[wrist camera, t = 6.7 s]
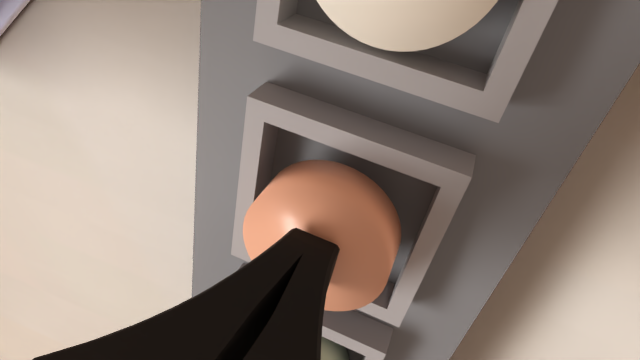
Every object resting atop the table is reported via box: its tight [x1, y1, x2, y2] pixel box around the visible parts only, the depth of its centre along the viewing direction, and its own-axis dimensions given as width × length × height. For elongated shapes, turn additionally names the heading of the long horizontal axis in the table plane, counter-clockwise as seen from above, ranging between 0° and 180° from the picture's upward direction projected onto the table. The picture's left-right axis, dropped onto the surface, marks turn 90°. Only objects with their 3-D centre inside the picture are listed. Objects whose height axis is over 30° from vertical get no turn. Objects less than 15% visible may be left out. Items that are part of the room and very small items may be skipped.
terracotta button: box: [243, 160, 401, 311], centre depth 13 cm, size 4×4×2 cm
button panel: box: [192, 0, 640, 360], centre depth 16 cm, size 26×11×4 cm, turn 169°
